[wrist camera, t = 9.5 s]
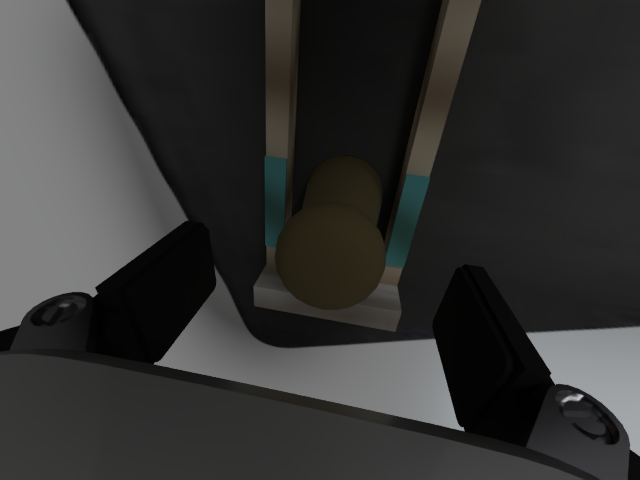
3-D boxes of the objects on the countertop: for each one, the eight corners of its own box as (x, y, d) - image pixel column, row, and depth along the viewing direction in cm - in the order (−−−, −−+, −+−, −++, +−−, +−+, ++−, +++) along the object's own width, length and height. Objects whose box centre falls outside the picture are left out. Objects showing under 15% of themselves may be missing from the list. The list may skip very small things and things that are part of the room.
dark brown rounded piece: (304, 224, 22) (258, 319, 13) (307, 151, 19) (251, 201, 10) (375, 234, 22) (384, 340, 12) (390, 159, 19) (416, 221, 9)
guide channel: (279, -330, 11) (221, -628, 6) (566, -341, 10) (730, -701, 5) (273, 270, 25) (254, 306, 21) (389, 289, 24) (395, 331, 20)
